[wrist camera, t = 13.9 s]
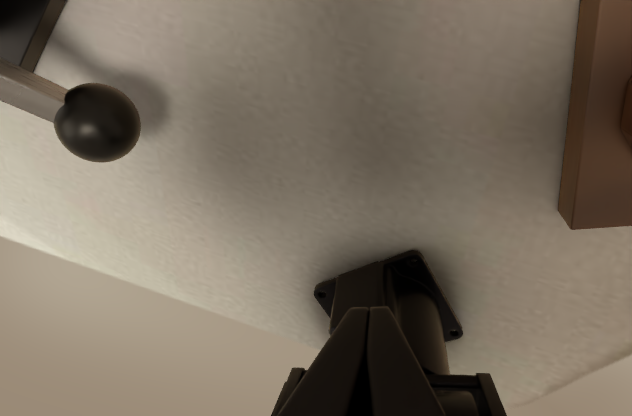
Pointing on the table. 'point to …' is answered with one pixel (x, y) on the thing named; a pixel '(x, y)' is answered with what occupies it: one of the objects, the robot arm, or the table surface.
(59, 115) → the switch lever
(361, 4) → the table surface
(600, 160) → the button block
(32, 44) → the switch bracket
